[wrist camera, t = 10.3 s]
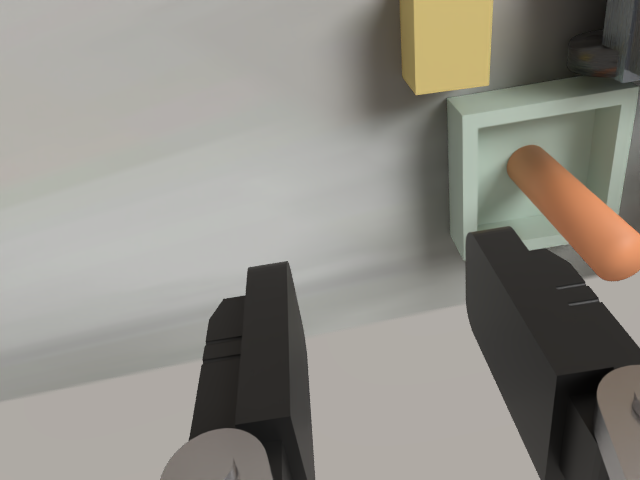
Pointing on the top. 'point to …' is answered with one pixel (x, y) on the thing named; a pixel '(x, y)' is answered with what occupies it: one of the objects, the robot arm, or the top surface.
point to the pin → (577, 214)
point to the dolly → (610, 45)
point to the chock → (445, 44)
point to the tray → (544, 131)
